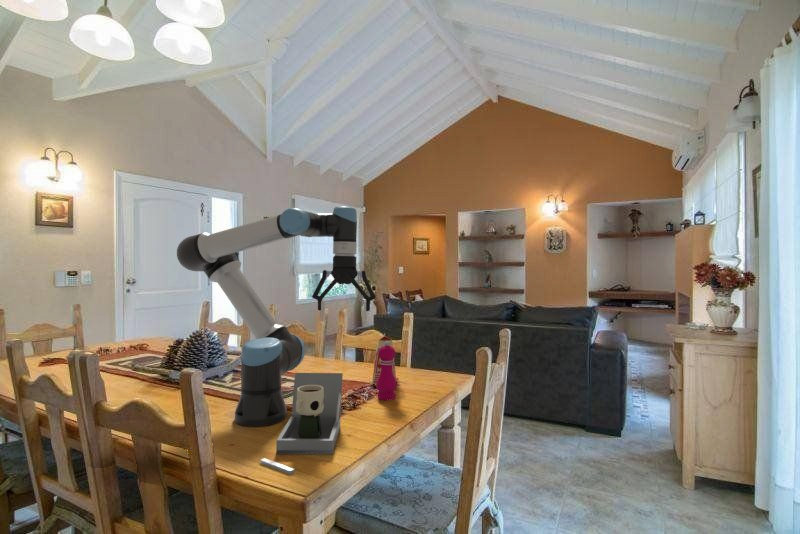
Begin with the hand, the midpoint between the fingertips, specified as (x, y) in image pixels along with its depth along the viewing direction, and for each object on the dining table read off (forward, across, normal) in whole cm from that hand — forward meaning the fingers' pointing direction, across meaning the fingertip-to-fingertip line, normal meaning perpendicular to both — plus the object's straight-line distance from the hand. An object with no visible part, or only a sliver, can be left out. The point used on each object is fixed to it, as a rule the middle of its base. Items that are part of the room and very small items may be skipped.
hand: (343, 321), depth 141 cm
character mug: (+28, -6, -24) cm, 37 cm away
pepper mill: (+29, +14, +12) cm, 34 cm away
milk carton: (+29, +13, +31) cm, 44 cm away
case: (+29, -6, -22) cm, 37 cm away
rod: (+29, -11, -40) cm, 50 cm away
